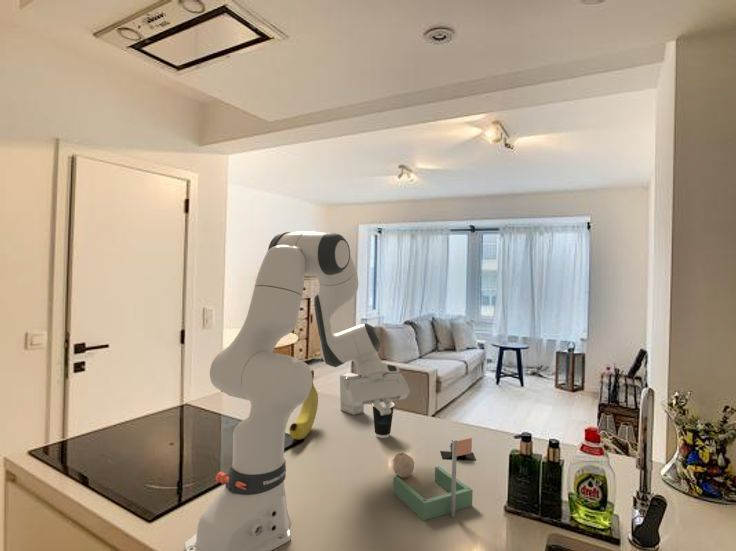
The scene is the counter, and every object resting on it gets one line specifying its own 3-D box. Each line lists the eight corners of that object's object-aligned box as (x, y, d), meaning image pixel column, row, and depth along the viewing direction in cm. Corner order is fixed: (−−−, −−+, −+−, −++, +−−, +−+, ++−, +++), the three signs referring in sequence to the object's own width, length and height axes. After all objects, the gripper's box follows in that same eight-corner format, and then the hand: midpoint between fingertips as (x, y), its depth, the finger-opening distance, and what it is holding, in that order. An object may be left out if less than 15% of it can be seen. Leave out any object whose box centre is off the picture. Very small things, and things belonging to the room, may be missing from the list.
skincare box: (363, 412, 172) (364, 375, 172) (352, 415, 168) (353, 377, 168) (350, 407, 178) (350, 371, 178) (338, 410, 174) (339, 373, 174)
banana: (301, 448, 137) (302, 385, 137) (284, 446, 138) (285, 384, 138) (320, 423, 159) (321, 369, 159) (305, 421, 160) (306, 368, 160)
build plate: (477, 453, 137) (477, 438, 137) (482, 465, 129) (482, 448, 129) (435, 451, 138) (436, 436, 138) (438, 462, 130) (438, 446, 130)
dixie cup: (383, 429, 154) (384, 398, 154) (398, 436, 148) (399, 404, 148) (366, 434, 149) (367, 402, 149) (381, 441, 143) (382, 409, 143)
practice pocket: (393, 492, 111) (394, 423, 111) (438, 480, 118) (439, 415, 117) (428, 525, 97) (430, 446, 97) (478, 510, 103) (479, 436, 103)
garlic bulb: (387, 475, 120) (387, 447, 120) (402, 468, 125) (402, 440, 124) (405, 484, 115) (405, 454, 115) (419, 476, 120) (420, 448, 120)
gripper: (345, 371, 131) (358, 413, 122) (402, 366, 140) (418, 404, 132) (339, 382, 135) (351, 424, 126) (395, 376, 144) (410, 414, 136)
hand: (386, 414), depth 129 cm, fingers closed
